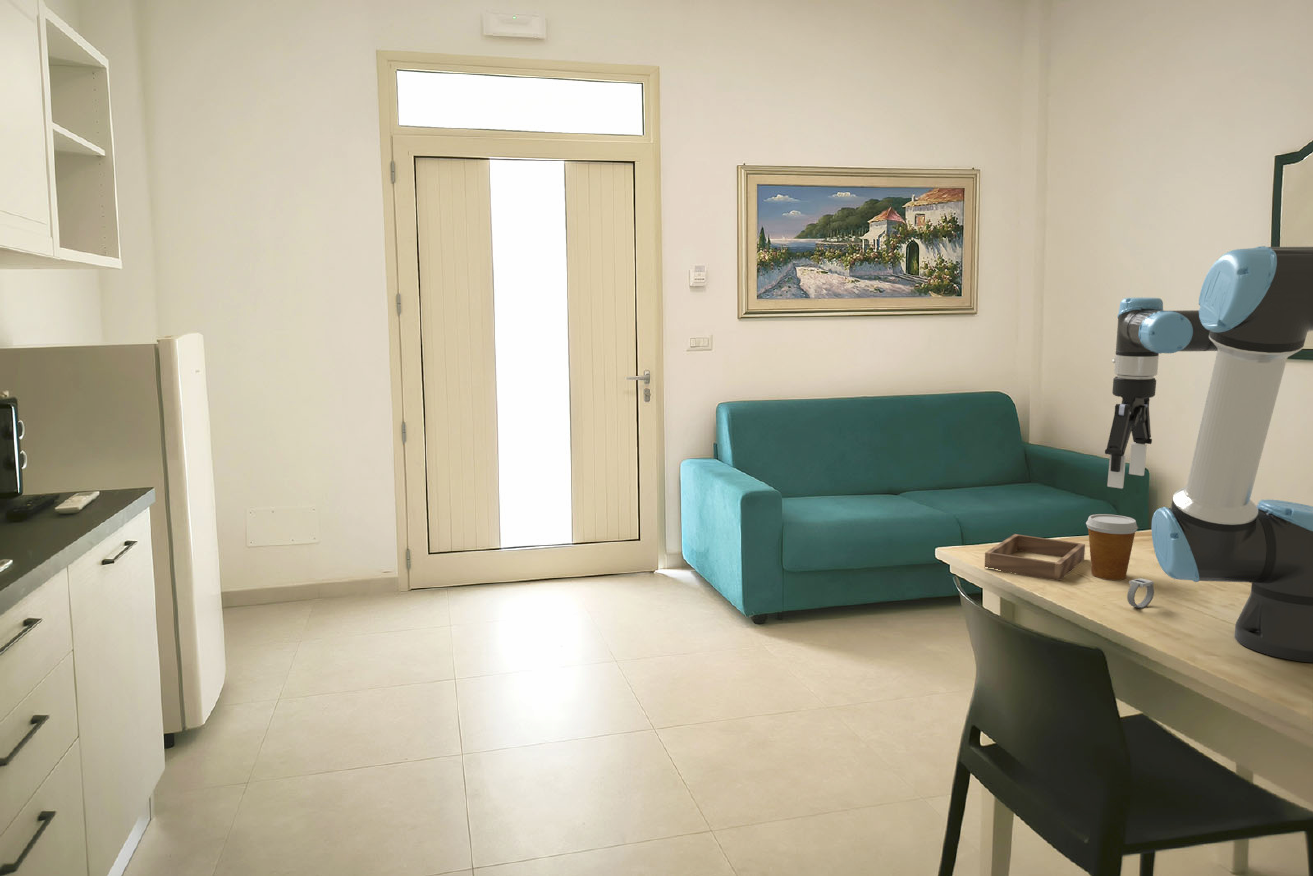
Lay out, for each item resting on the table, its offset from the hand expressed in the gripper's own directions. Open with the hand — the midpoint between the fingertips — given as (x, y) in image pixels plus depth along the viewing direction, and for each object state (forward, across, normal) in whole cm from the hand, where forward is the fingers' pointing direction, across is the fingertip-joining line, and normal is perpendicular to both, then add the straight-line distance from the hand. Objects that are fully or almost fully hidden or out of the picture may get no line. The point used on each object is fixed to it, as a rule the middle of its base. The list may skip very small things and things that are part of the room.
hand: (1126, 480), depth 179 cm
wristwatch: (+19, +19, +9) cm, 29 cm away
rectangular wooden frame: (+20, +3, -16) cm, 26 cm away
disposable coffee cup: (+20, +2, -1) cm, 20 cm away
